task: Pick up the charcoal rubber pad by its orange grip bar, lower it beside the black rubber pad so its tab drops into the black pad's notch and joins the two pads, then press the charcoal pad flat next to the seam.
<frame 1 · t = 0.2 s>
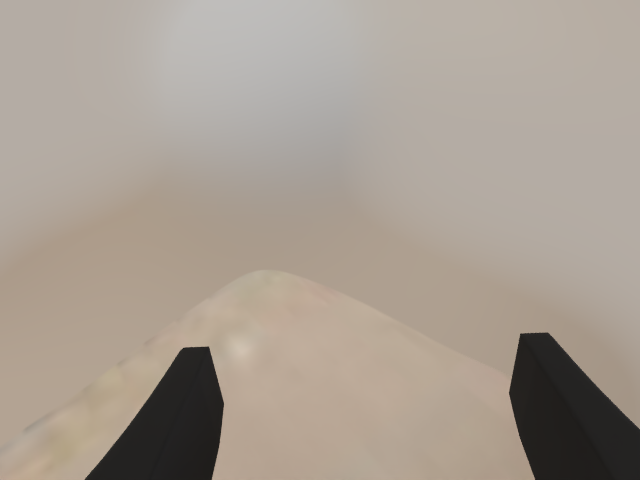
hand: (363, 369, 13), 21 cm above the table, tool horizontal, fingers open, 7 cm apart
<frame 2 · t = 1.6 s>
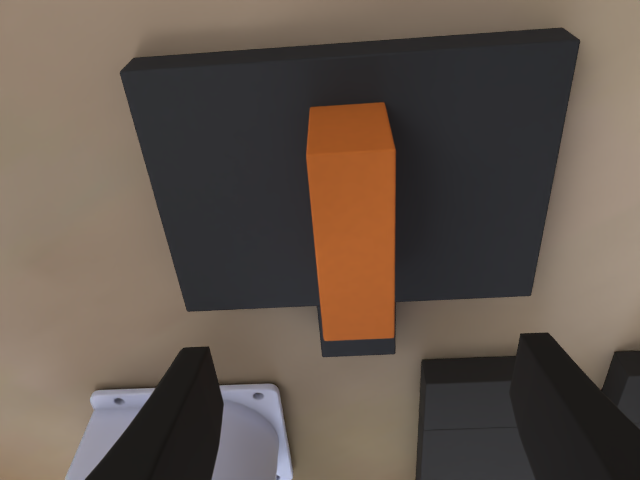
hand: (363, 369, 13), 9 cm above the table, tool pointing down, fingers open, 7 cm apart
charcoal pad: (350, 178, 21), on the table
black pad: (546, 443, 30), on the table
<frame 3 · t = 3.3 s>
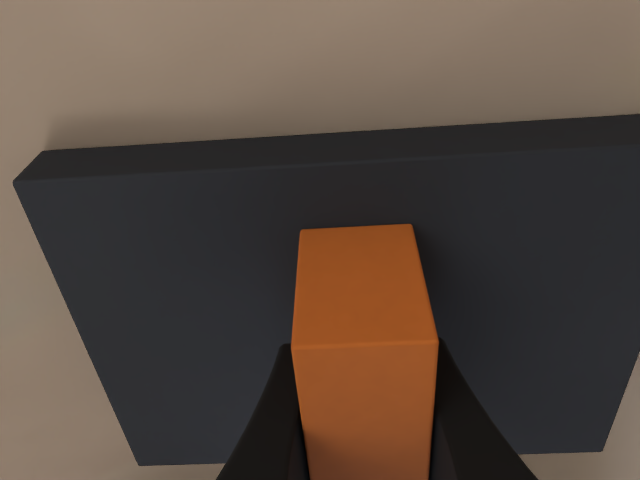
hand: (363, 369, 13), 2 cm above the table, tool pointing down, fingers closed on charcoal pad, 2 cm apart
charcoal pad: (357, 302, 15), on the table, touching gripper
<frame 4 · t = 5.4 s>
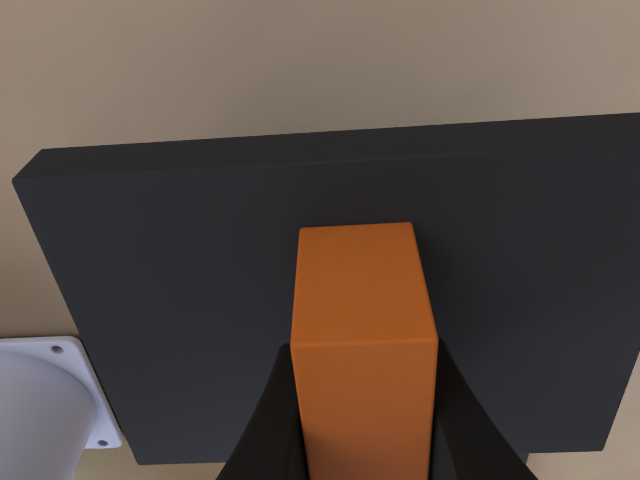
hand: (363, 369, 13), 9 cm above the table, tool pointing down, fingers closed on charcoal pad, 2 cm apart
charcoal pad: (357, 300, 15), point 7 cm above the table, touching gripper
when the fingers open (2 cm above the table, at t = 7.7 s): charcoal pad stays where it is, on the table.
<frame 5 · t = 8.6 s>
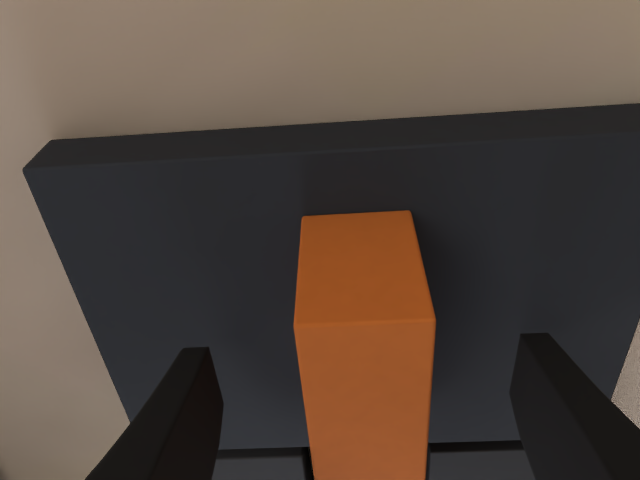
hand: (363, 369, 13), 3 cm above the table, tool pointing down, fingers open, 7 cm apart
charcoal pad: (358, 289, 15), on the table
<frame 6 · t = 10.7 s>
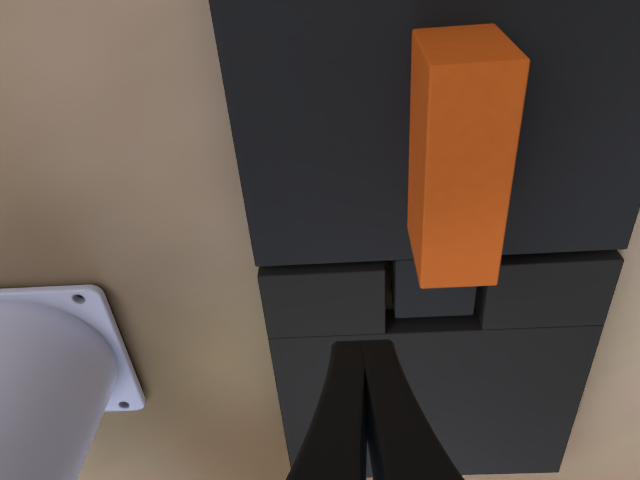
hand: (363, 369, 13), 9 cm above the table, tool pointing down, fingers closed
charcoal pad: (438, 118, 19), on the table
black pad: (425, 363, 26), on the table
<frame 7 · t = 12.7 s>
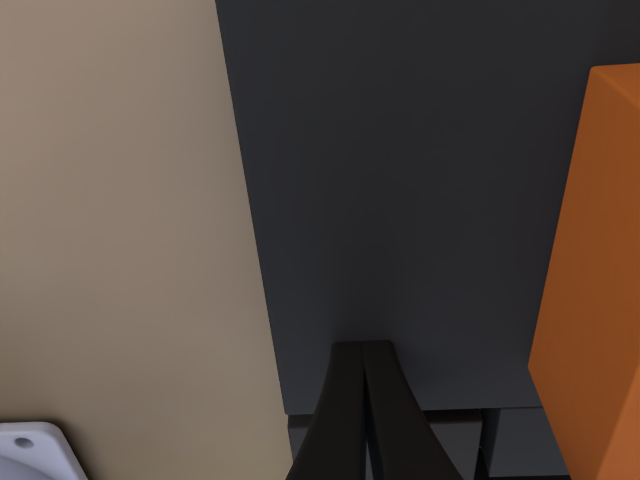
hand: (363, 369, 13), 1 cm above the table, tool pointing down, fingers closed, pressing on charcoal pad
charcoal pad: (585, 201, 12), on the table, touching gripper
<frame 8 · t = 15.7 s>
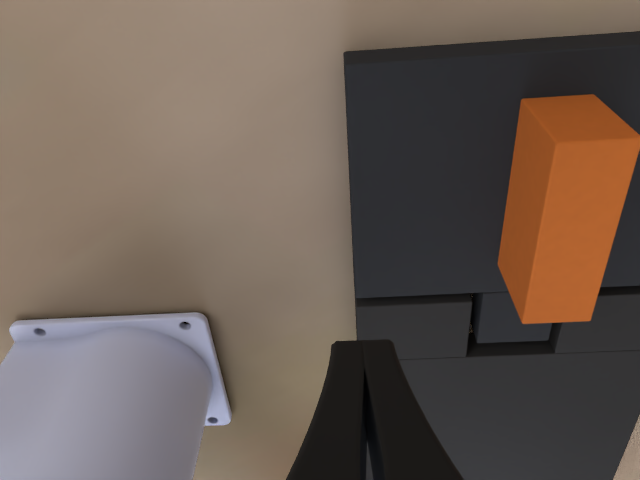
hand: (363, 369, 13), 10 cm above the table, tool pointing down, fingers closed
charcoal pad: (528, 168, 21), on the table
black pad: (493, 382, 28), on the table
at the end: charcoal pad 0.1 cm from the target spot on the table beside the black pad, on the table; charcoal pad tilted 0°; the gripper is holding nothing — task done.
